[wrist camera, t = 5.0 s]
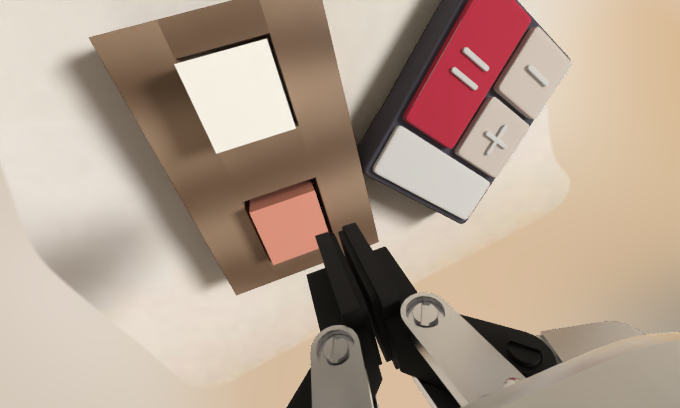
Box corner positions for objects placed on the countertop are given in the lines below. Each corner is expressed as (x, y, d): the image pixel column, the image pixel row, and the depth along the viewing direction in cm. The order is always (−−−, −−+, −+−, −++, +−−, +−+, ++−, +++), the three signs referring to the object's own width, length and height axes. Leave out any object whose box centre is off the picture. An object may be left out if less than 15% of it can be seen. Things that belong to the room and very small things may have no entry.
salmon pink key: (250, 190, 23) (249, 212, 19) (305, 171, 23) (314, 190, 20) (271, 237, 25) (273, 265, 21) (321, 219, 25) (332, 243, 22)
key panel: (114, 42, 17) (88, 37, 15) (308, -9, 19) (317, -22, 16) (238, 271, 26) (236, 295, 23) (366, 224, 27) (378, 241, 24)
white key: (190, 65, 17) (174, 64, 14) (264, 44, 18) (266, 38, 14) (223, 138, 19) (216, 153, 16) (289, 118, 20) (296, 128, 16)
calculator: (584, 60, 22) (470, 229, 25) (534, 64, 26) (440, 210, 29) (491, -45, 17) (366, 176, 20) (447, -22, 21) (347, 162, 24)
